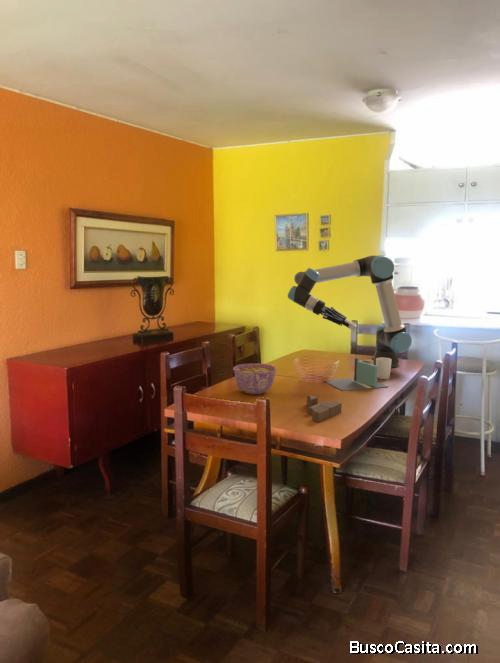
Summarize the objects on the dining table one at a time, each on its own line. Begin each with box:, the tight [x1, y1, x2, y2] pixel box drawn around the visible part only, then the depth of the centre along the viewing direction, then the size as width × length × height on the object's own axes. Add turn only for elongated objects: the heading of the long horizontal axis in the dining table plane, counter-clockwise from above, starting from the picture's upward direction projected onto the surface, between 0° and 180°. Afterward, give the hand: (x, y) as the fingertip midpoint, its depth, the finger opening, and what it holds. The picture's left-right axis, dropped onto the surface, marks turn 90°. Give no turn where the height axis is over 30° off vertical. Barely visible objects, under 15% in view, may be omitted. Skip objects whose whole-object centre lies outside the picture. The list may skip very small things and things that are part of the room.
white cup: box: [376, 357, 392, 380], centre depth 271 cm, size 8×8×10 cm
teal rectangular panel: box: [356, 360, 378, 387], centre depth 255 cm, size 13×2×10 cm, turn 30°
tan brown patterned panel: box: [353, 356, 375, 381], centre depth 263 cm, size 11×2×12 cm, turn 107°
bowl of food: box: [232, 363, 277, 395], centre depth 241 cm, size 20×20×12 cm
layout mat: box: [327, 377, 389, 392], centre depth 258 cm, size 25×20×1 cm
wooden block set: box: [306, 394, 343, 423], centre depth 211 cm, size 17×6×18 cm
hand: (355, 328), depth 265 cm, fingers closed
